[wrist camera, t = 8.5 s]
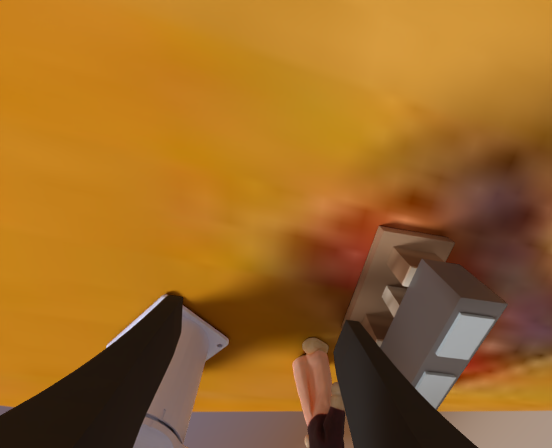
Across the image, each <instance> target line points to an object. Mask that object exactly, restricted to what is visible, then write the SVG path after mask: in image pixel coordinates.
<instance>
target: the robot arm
mask: <svg viewBox="0 0 552 448" xmlns="http://www.w3.org/2000/svg"><path fill="white" fill-rule="evenodd" d="M228 343H229V339H228V338H227V337H226V336H224V335H223V334H222V333H220V332H219V331H217V330H216V329H215V328H213V327H212V326H211V325H209V324H208V323H207V322H205V321H204V320H202V319H201V318H200V317H198V316H197V315H196V314H194V313H193V312H192V311H190V310H189V309H187V308H186V307H185V306H183V297H180V296H173V295H167V294H165V295H162V296H161V297H160V298H159V299H158V300H157V301H156V302H154V303H153V304H152V305H151V306H150V307H149V308H148V309H147V310H145V311H144V312H143V313H142V314H141V315H140V316H139V317H138V318H136V319H135V320H134V321H133V322H132V323H131V324H130V325H129V326H127V327H126V328H125V329H124V330H123V331H122V332H121V333H120V334H118V335H117V336H116V337H115V338H114V339H113V340H112V341H111V342H110V343H108V345H107V346H106V349H105V350H103V351H102V352H101V353H99V354H98V355H97V356H95V357H94V358H92V359H91V360H90V361H88V362H87V363H85V364H84V365H82V366H81V367H80V368H78V369H77V370H75V371H74V372H72V373H71V374H69V375H68V376H66V377H64V378H63V379H61V380H60V381H58V382H57V383H55V384H54V385H52V386H50V387H49V388H47V389H45V390H44V391H42V392H41V393H39V394H37V395H36V396H34V397H32V398H30V399H29V400H27V401H25V402H23V403H22V404H20V405H18V406H16V407H14V408H13V409H11V410H9V411H8V412H6V413H4V414H2V415H1V416H0V448H188V447H186V446H184V445H183V443H184V439H185V435H186V432H187V428H188V424H189V421H190V417H191V413H192V409H193V406H194V402H195V398H196V395H197V391H198V387H199V383H200V380H201V376H202V372H203V368H204V365H205V361H207V360H208V359H209V358H211V357H212V356H213V355H215V354H216V353H218V352H219V351H220V350H222V349H223V348H224V347H226V346H227V345H228ZM334 361H335V368H336V375H337V380H338V384H339V388H340V392H341V396H342V400H343V404H344V408H345V412H346V416H347V420H348V424H349V428H350V432H351V436H352V441H353V445H354V448H478V447H477V446H476V445H474V444H473V443H472V442H471V441H470V440H469V439H467V438H466V437H465V436H464V435H463V434H462V433H461V432H460V431H458V430H457V429H456V428H455V427H454V426H453V425H452V424H451V423H449V421H447V420H446V419H445V418H444V417H443V416H442V415H441V414H440V413H439V412H438V411H437V410H436V409H435V408H434V407H433V406H432V405H431V404H430V403H429V402H428V401H427V400H426V399H425V398H424V397H423V396H422V395H421V394H420V393H419V392H418V391H417V390H416V389H415V388H414V387H413V385H412V384H411V383H410V382H409V381H408V380H407V379H406V378H405V377H404V376H403V374H402V373H401V372H400V371H399V370H398V369H397V367H396V366H395V365H394V364H393V363H392V362H391V360H390V359H389V358H388V357H387V356H386V354H385V353H384V352H383V351H382V349H381V348H380V347H379V346H378V344H377V343H376V342H375V341H374V339H373V338H372V337H371V336H370V334H369V333H368V332H367V331H366V329H365V328H364V327H363V326H362V324H361V323H360V322H359V321H353V320H345V323H344V326H343V328H342V331H341V333H340V336H339V339H338V341H337V344H336V346H335V349H334Z"/></svg>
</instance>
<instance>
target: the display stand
mask: <svg viewBox="0 0 552 448" xmlns="http://www.w3.org/2000/svg"><path fill="white" fill-rule="evenodd" d="M454 244H455V242H453V241H452V240H451V239H449V238H448V237H443V236H437V235H431V234H425V233H419V232H413V231H407V230H401V229H395V228H390V227H384V226H379V227H378V230H377V232H376V235H375V238H374V240H373V243H372V246H371V248H370V251H369V254H368V256H367V259H366V262H365V264H364V267H363V270H362V273H361V275H360V278H359V281H358V283H357V286H356V289H355V291H354V294H353V297H352V299H351V302H350V305H349V307H348V310H347V313H346V315H345V318H344V321H343V323H342V326H341V328H343V326H344V323H345V320H353V321H359V322H360V323H361V324H362V326H363V327H364V328H365V329H366V331H367V332H368V333H369V334H370V336H371V337H372V338H373V339H374V341H375V342H376V343H377V344H378V346H379V347H381V344H382V342H383V340H384V338H385V336H386V334H387V332H388V329H389V327H390V325H391V323H392V321H393V319H394V317H395V314H396V312H397V310H398V308H399V306H400V304H401V302H402V299H403V297H404V295H405V293H406V291H407V289H408V287H409V284H410V282H411V280H412V278H413V276H414V274H415V272H416V270H417V267H418V265H419V263H420V261H421V259H427V260H434V261H440V262H446V260H447V258H448V256H449V254H450V252H451V250H452V248H453V246H454Z"/></svg>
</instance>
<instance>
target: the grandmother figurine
mask: <svg viewBox="0 0 552 448" xmlns="http://www.w3.org/2000/svg"><path fill="white" fill-rule="evenodd" d="M302 348H303V350H304V351H305V352H306V355H302V356H300V357H298V358H297V359H296V360H295V361H294V362H293V371H294V377H295V381H296V386H297V390H298V394H299V397H300V401H301V405H302V409H303V413H304V417H305V421H306V423H307V426H308V435H306V437H305V445H306V446H307V448H344V441H343V435H344V422H345V410H344V404H343V400H342V396H341V392H340V388H339V384H338V382H335V383H333V384H332V380H331V373H330V367H329V361H328V355H327V352H328V349H329V347H328V345H327V344H326V343H324V342H322V341H321V340H319V339H317V338H308V339H306V340H305V341H304V342H303V344H302ZM331 395H332V396H331Z"/></svg>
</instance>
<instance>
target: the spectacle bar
mask: <svg viewBox="0 0 552 448" xmlns="http://www.w3.org/2000/svg"><path fill="white" fill-rule="evenodd" d="M507 305H508V304H507V303H506V302H505V301H504V300H503V299H501V298H500V297H499V296H498V295H496V294H495V293H494V292H493V291H491V290H490V289H489V288H488V287H487V286H485V285H484V284H483V283H482V282H480V281H479V280H478V279H477V278H476V277H474V276H473V275H472V274H471V273H469V272H468V271H467V270H466V269H464V268H463V267H462V266H461V265H459V264H453V263H446V262H440V261H434V260H427V259H421V261H420V263H419V265H418V267H417V270H416V272H415V274H414V276H413V278H412V280H411V282H410V284H409V287H408V289H407V291H406V293H405V295H404V297H403V299H402V302H401V304H400V306H399V308H398V310H397V312H396V314H395V317H394V319H393V321H392V323H391V325H390V327H389V329H388V332H387V334H386V336H385V338H384V340H383V342H382V344H381V347H380V348H381V349H382V351H383V352H384V353H385V354H386V356H387V357H388V358H389V359H390V360H391V362H392V363H393V364H394V365H395V366H396V367H397V369H398V370H399V371H400V372H401V373H402V374H403V376H404V377H405V378H406V379H407V380H408V381H409V382H410V383H411V384H412V385H413V387H414V388H415V389H416V390H417V391H418V392H419V393H420V394H421V395H422V396H423V397H424V398H425V399H426V400H427V401H428V402H429V403H430V404H431V405H432V406H433V407H434V408H435V409H436V410H437V409H438V407H439V406H440V404H441V403H442V401H443V400H444V398H445V397H446V395H447V394H448V393H449V391H450V390H451V388H452V387H453V385H454V384H455V382H456V381H457V379H458V378H459V376H460V375H461V373H462V372H463V370H464V369H465V367H466V366H467V364H468V363H469V361H470V360H471V358H472V357H473V356H474V354H475V353H476V351H477V350H478V348H479V347H480V345H481V344H482V342H483V341H484V339H485V338H486V336H487V335H488V333H489V332H490V330H491V329H492V327H493V326H494V324H495V323H496V322H497V320H498V319H499V317H500V316H501V314H502V313H503V311H504V310H505V308H506V307H507Z"/></svg>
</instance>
